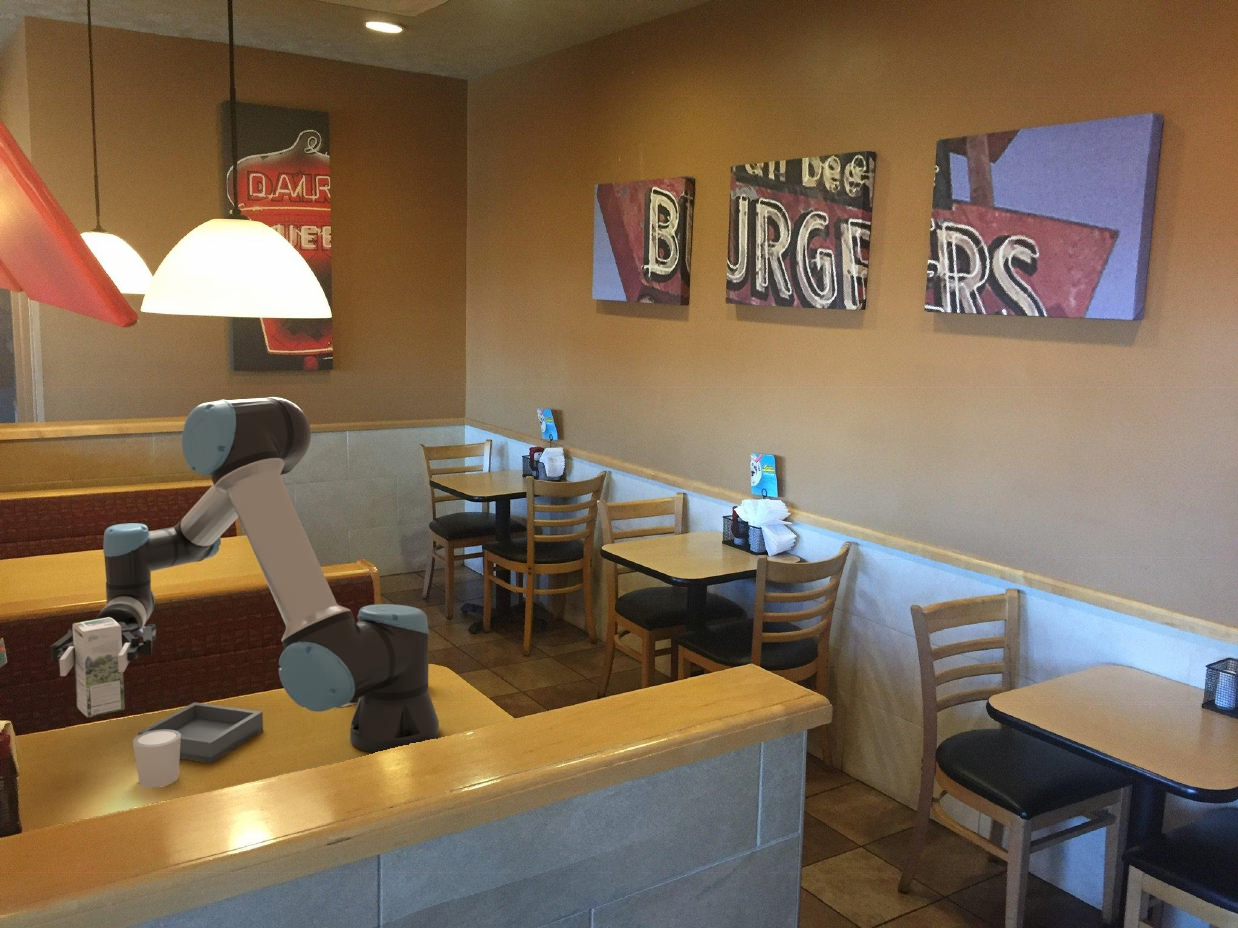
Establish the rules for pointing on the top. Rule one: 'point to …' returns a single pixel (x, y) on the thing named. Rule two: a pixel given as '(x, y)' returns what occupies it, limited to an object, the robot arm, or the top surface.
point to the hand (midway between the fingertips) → (91, 665)
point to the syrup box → (98, 667)
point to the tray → (210, 729)
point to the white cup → (157, 757)
